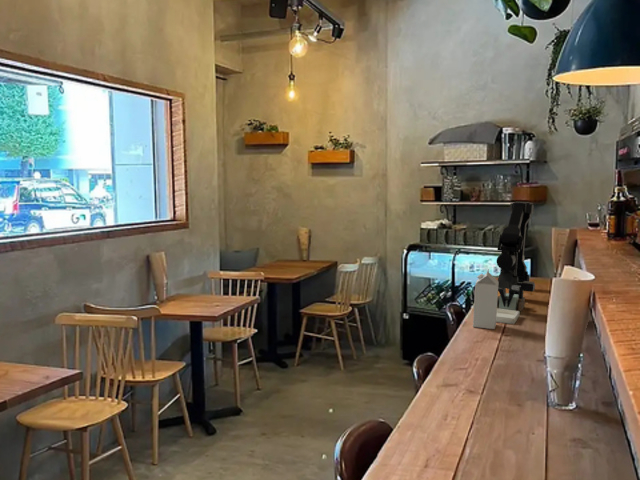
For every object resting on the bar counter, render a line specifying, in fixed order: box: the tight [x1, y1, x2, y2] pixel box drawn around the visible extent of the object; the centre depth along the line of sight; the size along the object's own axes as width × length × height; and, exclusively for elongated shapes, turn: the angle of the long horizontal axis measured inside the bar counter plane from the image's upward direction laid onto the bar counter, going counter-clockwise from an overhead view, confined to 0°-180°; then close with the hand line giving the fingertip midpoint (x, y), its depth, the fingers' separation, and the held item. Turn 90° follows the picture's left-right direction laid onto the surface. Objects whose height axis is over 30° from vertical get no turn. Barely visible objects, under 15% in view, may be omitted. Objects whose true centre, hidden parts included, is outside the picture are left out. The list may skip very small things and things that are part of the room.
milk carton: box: [472, 268, 499, 330], centre depth 205 cm, size 7×7×19 cm
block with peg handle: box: [498, 292, 519, 311], centre depth 231 cm, size 8×6×5 cm
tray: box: [496, 307, 521, 325], centre depth 217 cm, size 12×12×2 cm
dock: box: [497, 295, 526, 312], centre depth 233 cm, size 7×10×3 cm, turn 63°
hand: (506, 306), depth 228 cm, fingers closed on block with peg handle
